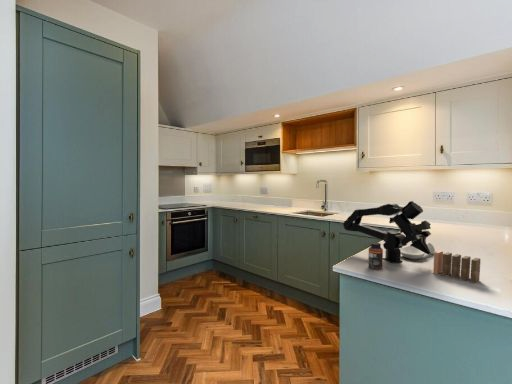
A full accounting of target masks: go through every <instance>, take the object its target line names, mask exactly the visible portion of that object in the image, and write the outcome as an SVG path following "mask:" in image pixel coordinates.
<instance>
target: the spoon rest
mask: <svg viewBox="0 0 512 384" xmlns="http://www.w3.org/2000/svg"><path fill="white" fill-rule="evenodd" d="M426 244H427V246H428V248H429V251H430V254H429V255H434V252H436V249H435V247H434V245H433V244H432V243H431V242H426ZM399 249H400V253H401V255H402V257H404V258H406V259H411V260H420V259H421V258H423V257H424V256H425V255H426V253H424V252H422V251H421V250H419V249H417V248H415V247H413V246H410V245H406V246H403V247H402V248H399Z"/></svg>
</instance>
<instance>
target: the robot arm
mask: <svg viewBox="0 0 512 384" xmlns="http://www.w3.org/2000/svg"><path fill="white" fill-rule="evenodd" d="M422 213H424V210H423V207H421V205H420V204H419V205H418V204H417V203H415V202H414V201H413V200H411V201H409V202H408V203H407V204H406V205H405V206H400V205H399V204H398V203H386V204H383V205H381V206H377V207H371V208H361V209H359V208H357V209H355V210H354V211H352V213H351V214H350V215H349V216H348V217H347V218H346V220H344V221H343V228H344V229H345V231H348V232H357V233H362V234H364V235H368V236H370V237H374V238H376V239H379V240H382V241H384V243H383V244H382V246H383V249H384V250H385V257H383V261H387V262H389V263H392V264H393V263H402V262H403V260H401V255H402V254H401V253H400V249H401V248H404V247H407V246H408V244H409V243H410V242H411V244H410V245H409V246H413V247H415V248H417V249H419V250H421V251H422V252H424V253H425V255H426V254H427V255H431V254H430V251H429V248H428V246H427V244H426V243H427V238H428V237H430V236H432V233H431V232H430V231H429V230H431V228H432V227H431V223H430V222H429V221H427V220H423V221H421V222H420V223H418V224H416V223H414V222H413V223H412V222H411V220H414V219H415V218H417V217H418V216H419V215H420V214H422ZM376 215H380V216H391V217H389V222H388V223H389V224H394V223H395V225H396V226H397V227H398V229H399V231H397V230H392V229H391V230H387V231H384V230H380V229H378V228H375V227H373V226H369V225H365V224H363V223H362V219H363V217H367V216H368V217H369V216H376ZM392 216H393V217H392Z"/></svg>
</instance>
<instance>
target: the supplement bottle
mask: <svg viewBox="0 0 512 384" xmlns="http://www.w3.org/2000/svg"><path fill="white" fill-rule="evenodd" d="M383 249H384V248H382V247H381V242H375V241H372V242H371V243H370V247H368V260H367V261H368V265H367V266H368V268H370V269H372V270H376V271H377V270H382V269H383V266H384V265H383V261H384V259H383V258H384V255H383V254H384V250H383Z"/></svg>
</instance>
